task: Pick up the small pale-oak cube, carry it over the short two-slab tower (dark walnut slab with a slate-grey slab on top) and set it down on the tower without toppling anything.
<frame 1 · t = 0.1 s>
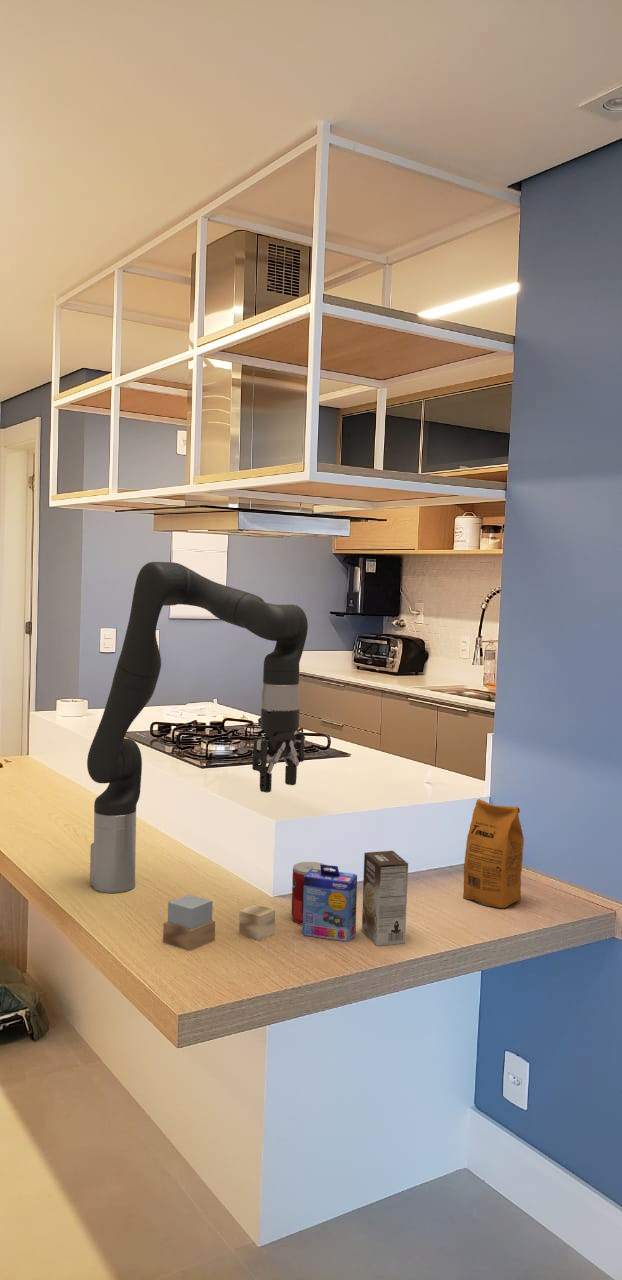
hand: (278, 788, 196), 29 cm above the table, tool pointing down, fingers open, 8 cm apart
canned food: (310, 920, 206), on the table
coffee box: (383, 937, 197), on the table
oak cube: (256, 935, 196), on the table
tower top: (189, 922, 192), point 4 cm above the table, touching tower base
tower base: (189, 942, 192), on the table, touching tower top
coffee package: (490, 900, 222), on the table
ink cartridge box: (328, 935, 198), on the table
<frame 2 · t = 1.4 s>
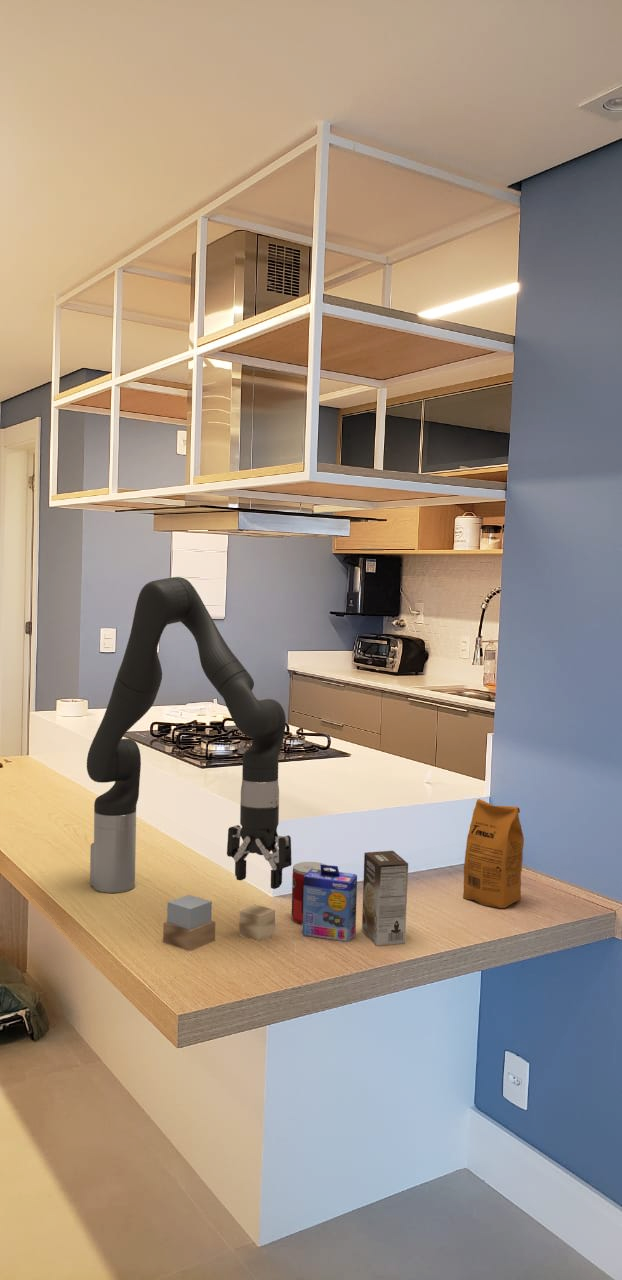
hand: (258, 883, 196), 10 cm above the table, tool pointing down, fingers open, 8 cm apart
nothing on the table moved.
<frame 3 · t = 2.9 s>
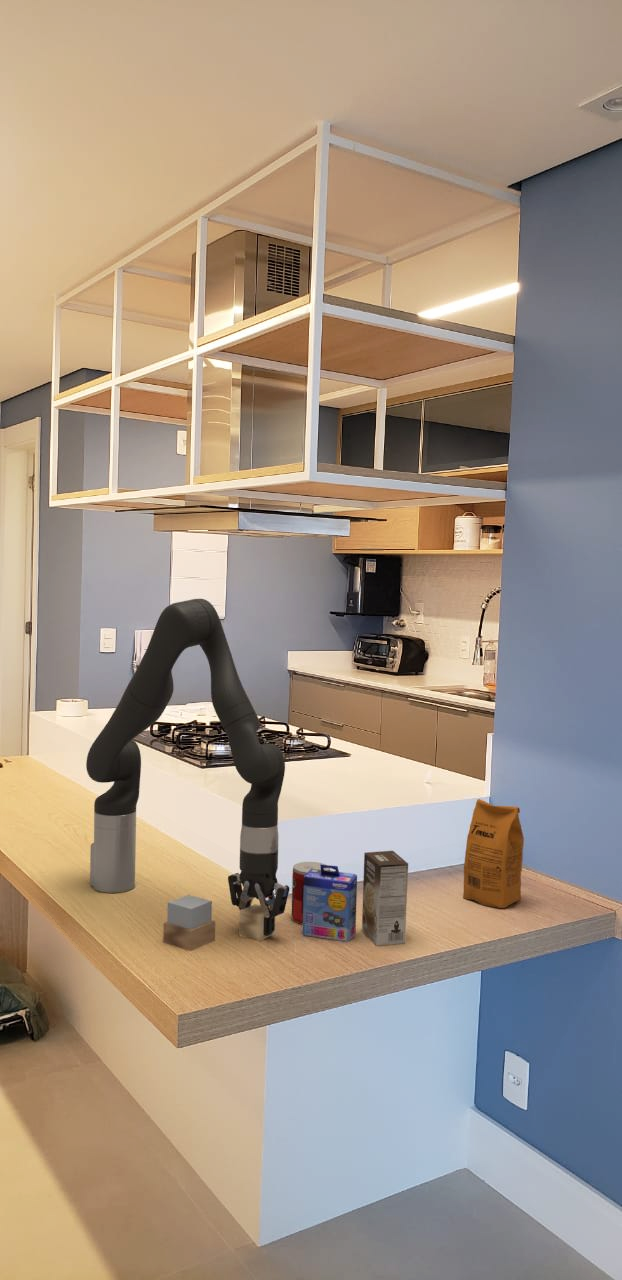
hand: (257, 931, 196), 1 cm above the table, tool pointing down, fingers closed on oak cube, 5 cm apart
oak cube: (256, 934, 196), on the table, touching gripper
everything else where it was.
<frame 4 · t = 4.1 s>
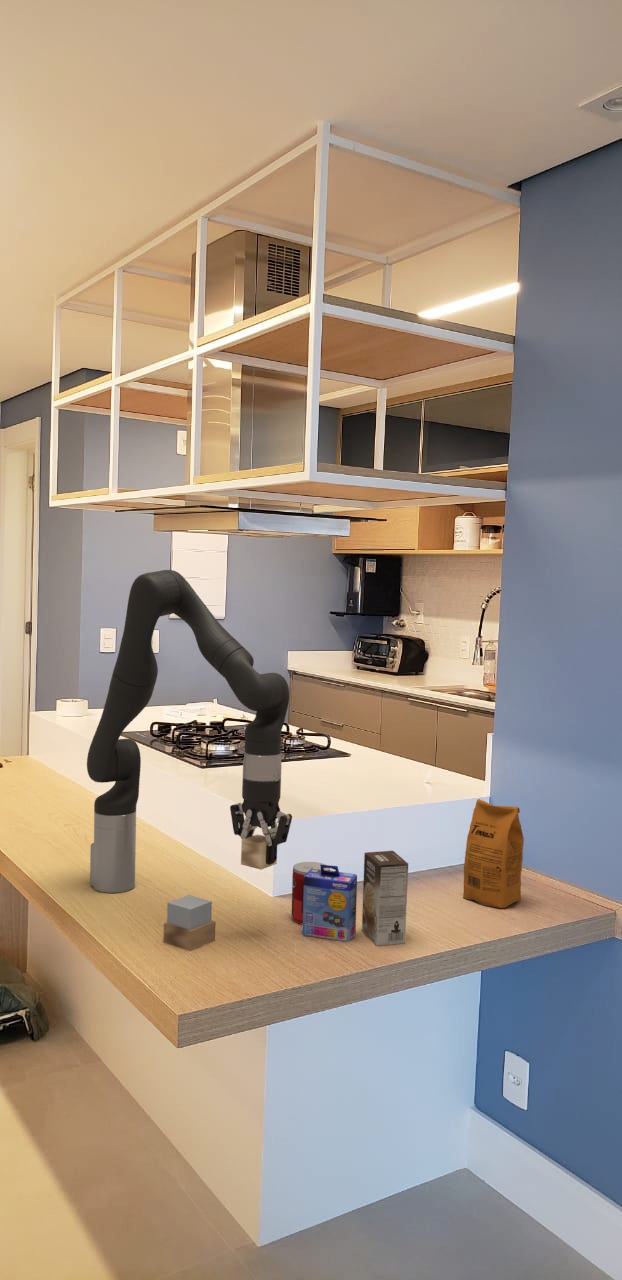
hand: (259, 860, 196), 15 cm above the table, tool pointing down, fingers closed on oak cube, 5 cm apart
oak cube: (258, 864, 196), point 14 cm above the table, touching gripper
everything else where it was.
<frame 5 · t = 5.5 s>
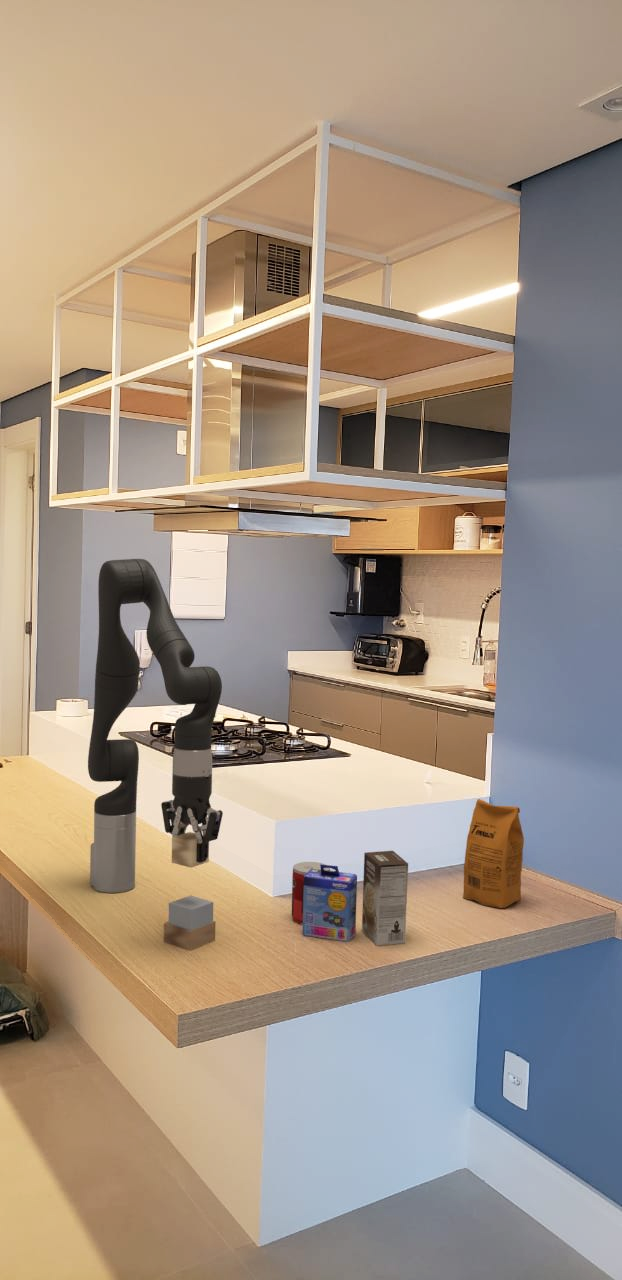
hand: (190, 858, 191), 16 cm above the table, tool pointing down, fingers closed on oak cube, 5 cm apart
oak cube: (190, 862, 191), point 15 cm above the table, touching gripper
everything else where it was.
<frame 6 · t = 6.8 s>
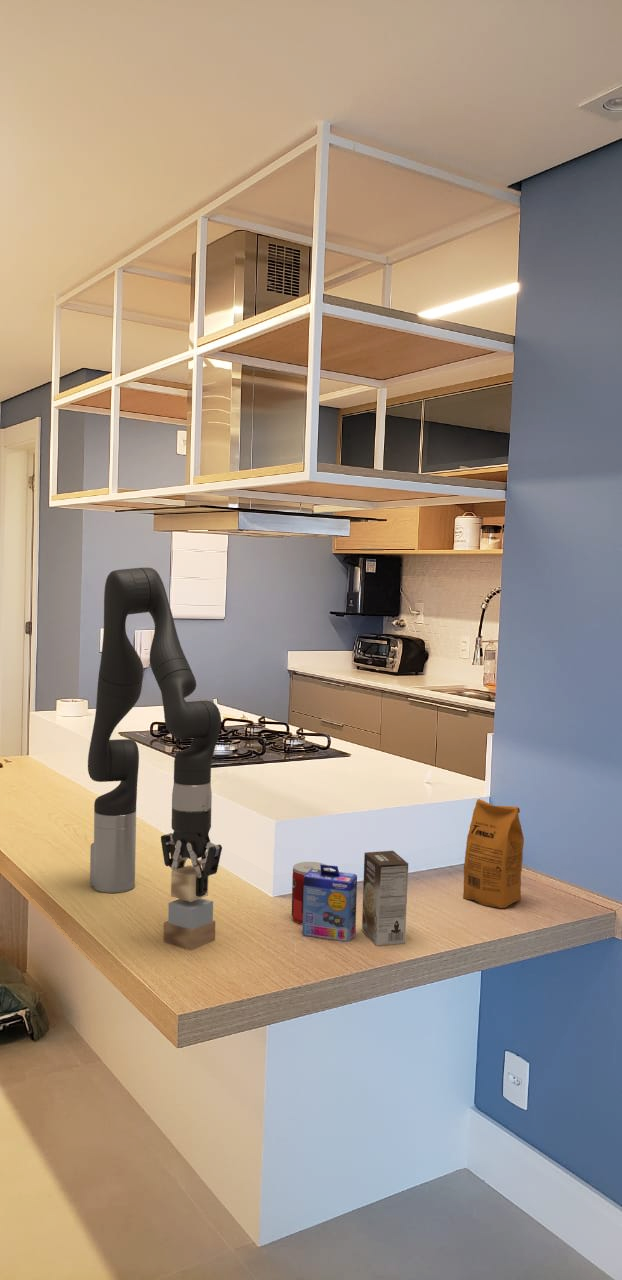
hand: (189, 892, 191), 10 cm above the table, tool pointing down, fingers closed on oak cube, 5 cm apart
oak cube: (189, 895, 191), point 9 cm above the table, touching gripper
everything else where it was.
when the fingers open (10 cm above the table, at t = 7.4 s): oak cube drops 1 cm, resting on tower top.
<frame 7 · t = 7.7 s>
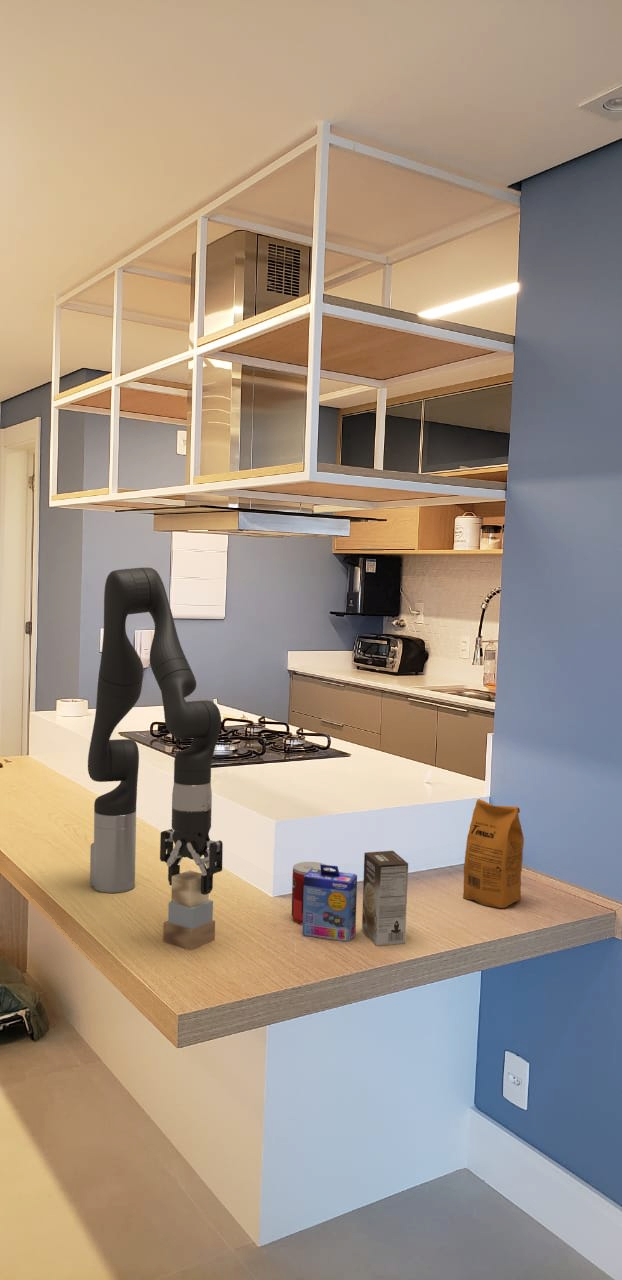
hand: (190, 889, 191), 10 cm above the table, tool pointing down, fingers open, 7 cm apart
oak cube: (189, 901, 192), point 8 cm above the table, touching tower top
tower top: (190, 922, 192), point 4 cm above the table, touching oak cube, tower base
everything else where it was.
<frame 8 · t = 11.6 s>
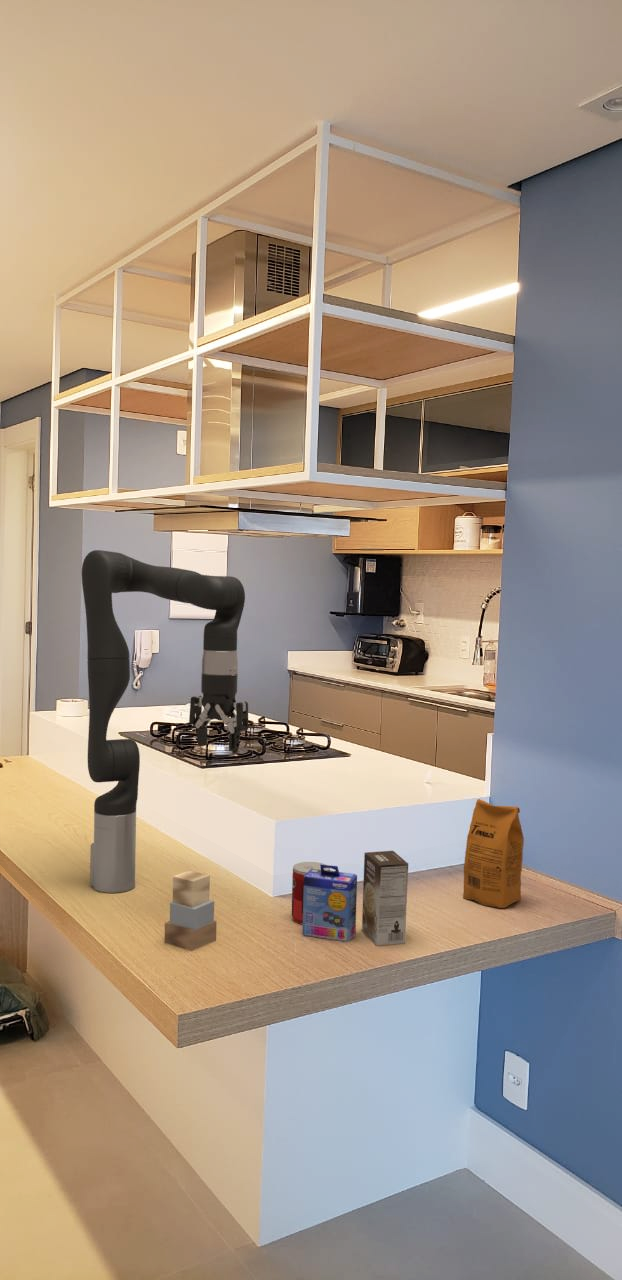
hand: (217, 748, 210), 34 cm above the table, tool pointing down, fingers open, 8 cm apart
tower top: (191, 922, 191), point 4 cm above the table, touching oak cube
tower base: (190, 942, 192), on the table
everything else where it was.
at the end: oak cube 0.5 cm from the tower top (horizontally); oak cube point 7.7 cm above the table; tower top moved 0.7 cm from its start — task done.
